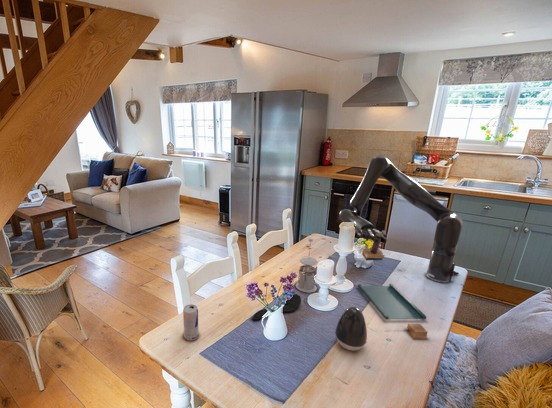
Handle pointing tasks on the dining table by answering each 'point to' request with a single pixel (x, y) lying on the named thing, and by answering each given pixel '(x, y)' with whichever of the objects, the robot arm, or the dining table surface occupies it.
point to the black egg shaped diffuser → (351, 329)
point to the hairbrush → (286, 309)
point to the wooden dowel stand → (374, 250)
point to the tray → (391, 302)
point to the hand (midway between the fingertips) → (381, 241)
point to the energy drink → (190, 322)
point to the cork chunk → (417, 331)
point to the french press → (307, 274)
